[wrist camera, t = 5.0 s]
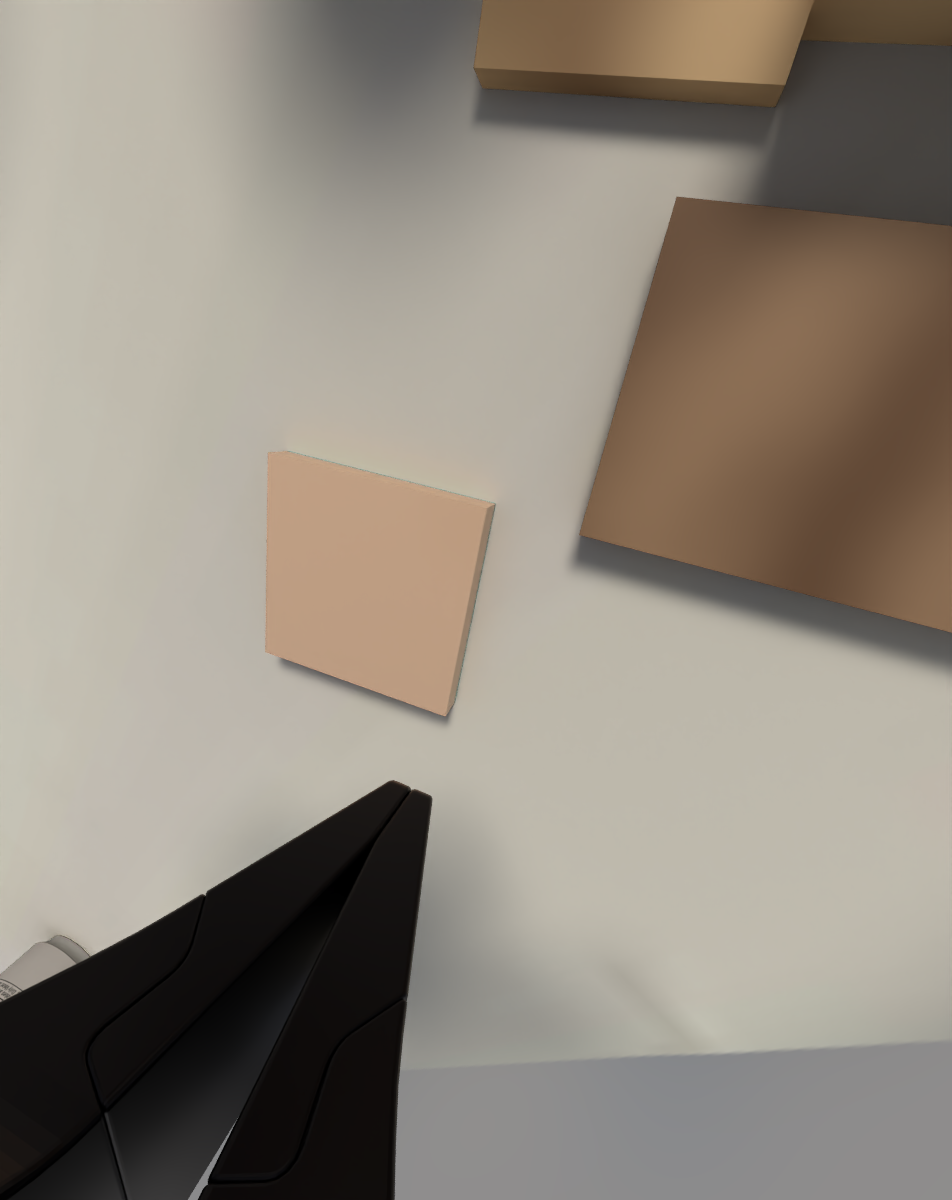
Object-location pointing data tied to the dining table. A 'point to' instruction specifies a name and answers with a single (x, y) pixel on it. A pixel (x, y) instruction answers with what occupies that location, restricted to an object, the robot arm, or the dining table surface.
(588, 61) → the stepped wooden block
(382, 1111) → the robot arm
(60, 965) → the energy drink can
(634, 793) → the dining table surface
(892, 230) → the board
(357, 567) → the tile
